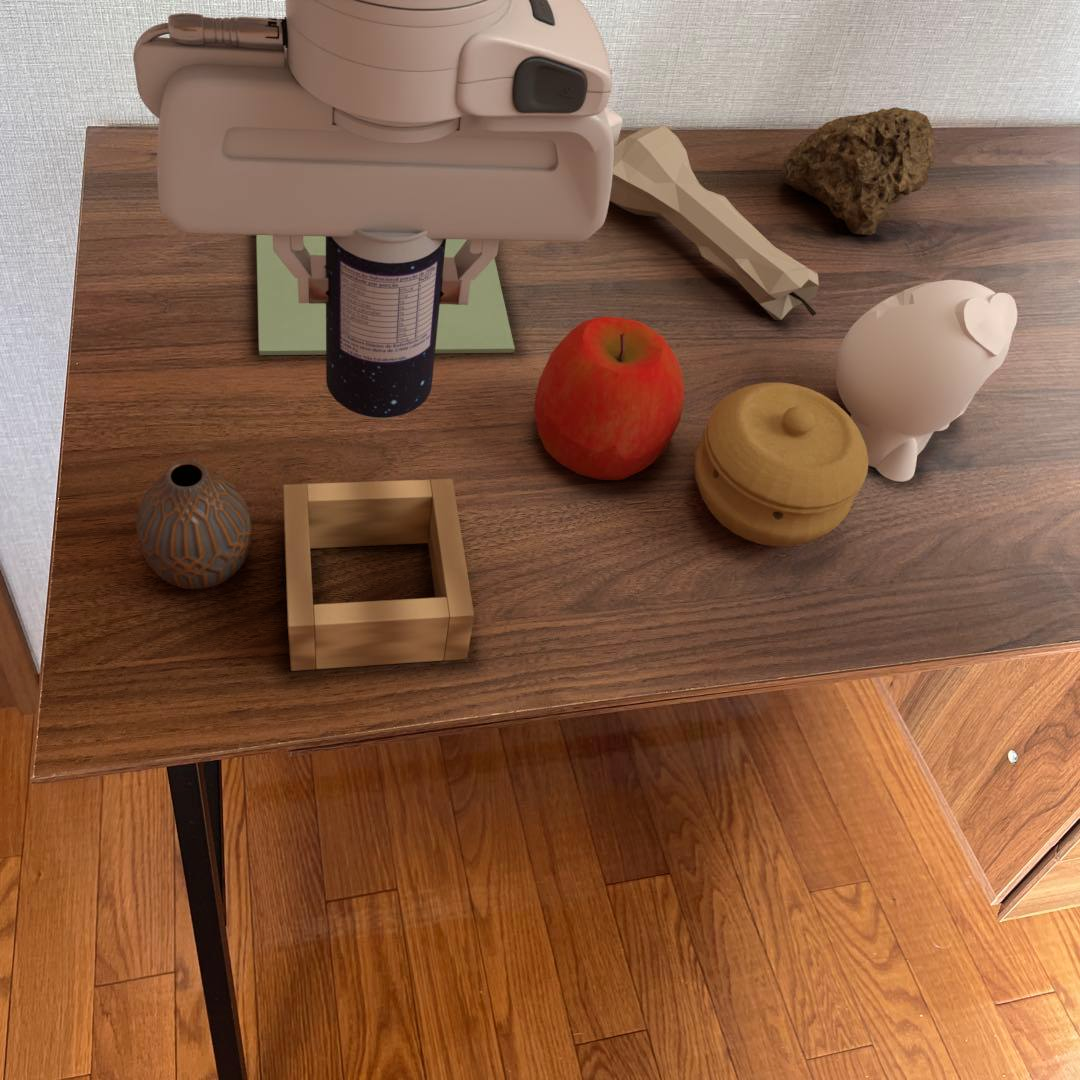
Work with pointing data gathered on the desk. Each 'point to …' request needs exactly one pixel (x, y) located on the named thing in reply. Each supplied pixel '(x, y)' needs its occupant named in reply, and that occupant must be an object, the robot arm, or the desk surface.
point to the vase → (193, 526)
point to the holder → (376, 625)
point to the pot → (780, 463)
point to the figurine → (920, 365)
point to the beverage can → (382, 320)
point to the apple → (609, 398)
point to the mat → (305, 324)
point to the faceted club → (706, 220)
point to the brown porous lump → (863, 164)
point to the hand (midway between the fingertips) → (384, 296)
